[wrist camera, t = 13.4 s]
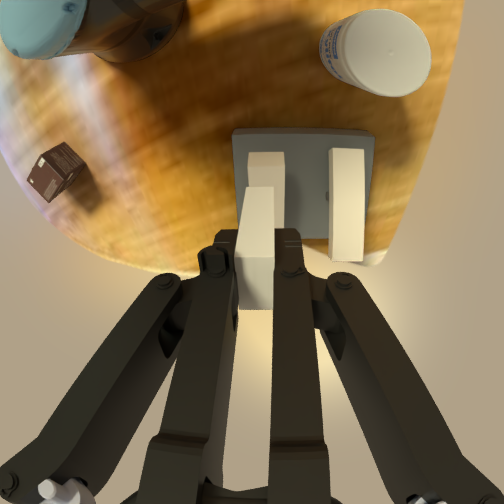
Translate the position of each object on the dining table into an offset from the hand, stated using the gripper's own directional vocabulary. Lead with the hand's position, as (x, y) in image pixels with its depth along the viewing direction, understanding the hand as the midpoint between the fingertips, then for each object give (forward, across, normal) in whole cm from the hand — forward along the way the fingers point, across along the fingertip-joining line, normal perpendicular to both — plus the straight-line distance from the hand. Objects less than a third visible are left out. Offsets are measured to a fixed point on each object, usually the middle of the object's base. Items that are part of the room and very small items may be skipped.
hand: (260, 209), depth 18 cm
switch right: (+21, +10, -10) cm, 25 cm away
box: (+29, -34, -4) cm, 45 cm away
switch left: (+21, 0, -9) cm, 23 cm away
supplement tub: (+29, +12, +10) cm, 33 cm away
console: (+28, +5, -10) cm, 30 cm away
